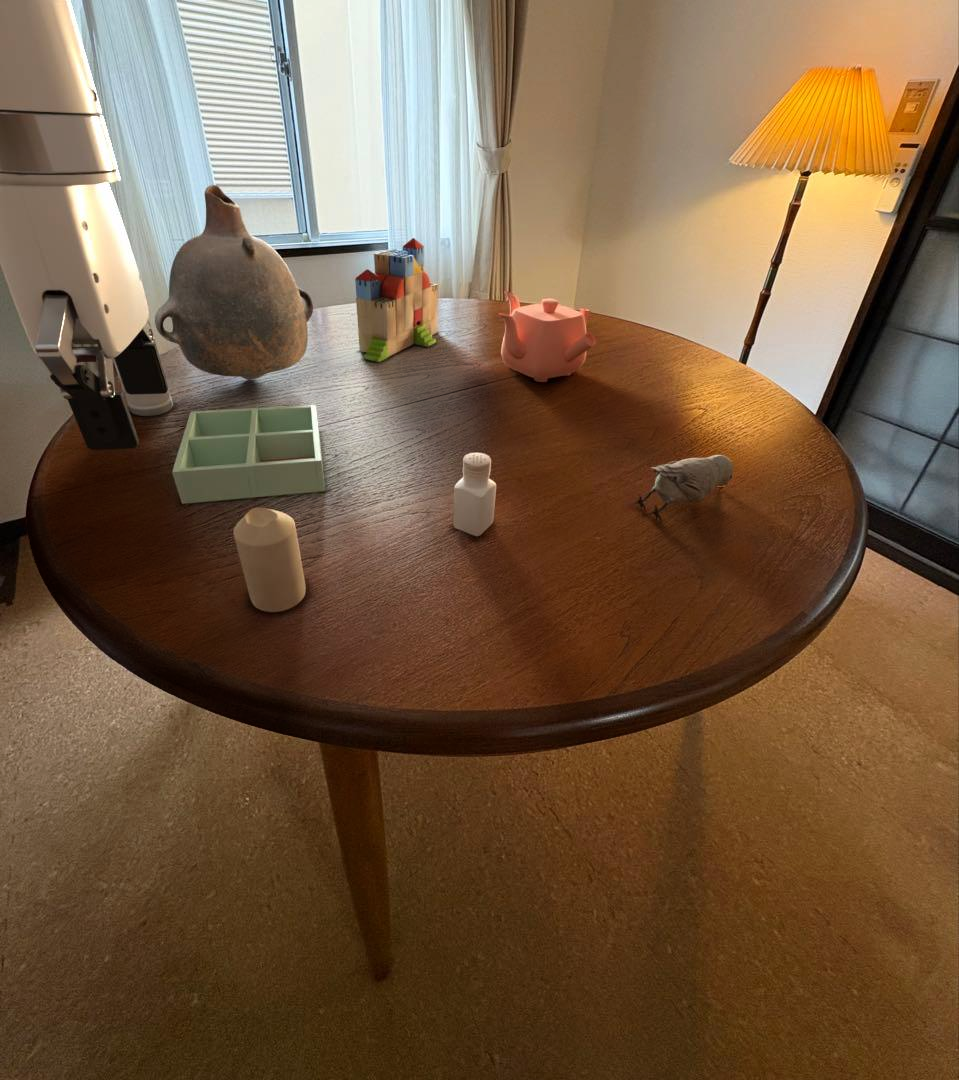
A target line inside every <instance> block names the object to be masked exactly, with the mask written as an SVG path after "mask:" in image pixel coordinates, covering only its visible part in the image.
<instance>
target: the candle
mask: <svg viewBox="0 0 959 1080" xmlns="http://www.w3.org/2000/svg"><path fill="white" fill-rule="evenodd" d="M296 527H297V526H296V522H295V520H294V518H292V516H290V515H288V514H287V513H285V512H282V511H279V510H275V509H271V508H266V507H253V508H251V509H250V510H249V511H248V512H247V513H245V515H244V516H243V517H242V518H241V519H240V520H239V521H238V522H237V523H236V524H235V526H234V528H233V537H234V541H235V545H236V549H237V553H238V557H239V560H240V561H239V562H240V565H241V569H242V572H243V577H244V579H245V584H246V589H247V592H248V596H249V599H250V602H251V603H252V605H253V606H254V607H255V608H256V609H257V610H260V611H263V612H266V613H267V612H268V613H277V612H279V613H280V612H285V611H287V610H290V609H291V608H293V607H295V606H297V605H298V604H300V602H301V601H302V600H303V599H304V598H305V595H306V589H307V586H306V580H305V574H304V568H303V563H302V558H301V557H302V556H301V551H300V545H299V539H298V533H297V528H296Z"/></svg>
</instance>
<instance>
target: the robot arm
mask: <svg viewBox="0 0 959 1080" xmlns="http://www.w3.org/2000/svg"><path fill="white" fill-rule="evenodd" d="M102 114H103V112H102V107H101V105H100V101H99V97H98V94H97V89H96V87H95V83H94V80H93V76H92V73H91V70H90V66H89V63H88V59H87V55H86V52H85V49H84V44H83V42H82V38H81V34H80V31H79V27H78V23H77V20H76V16H75V12H74V9H73V5H72V3H71V0H0V267H1V270H2V273H3V276H4V278H5V281H6V284H7V287H8V289H9V293H10V295H11V298H12V300H13V303H14V306H15V308H16V311H17V314H18V317H19V320H20V321H21V324H22V327H23V329H24V332H25V334H26V337H27V339H28V342H29V344H30V347H31V349H32V350H33V352H34V354H36V356H37V357H38V358H39V360H40V361H41V362H42V364H43V365H44V366H45V368H46V369H47V370H48V372H49V373H50V375H49V378H50V380H51V381H53V383H54V384H55V385H56V386H57V387H58V388H59V391H60V394H61V396H62V397H63V399H65V400H67V402H68V405H69V407H70V409H71V412H72V414H73V416H74V419H75V421H76V423H77V426H78V429H79V431H80V433H81V436H82V438H83V440H84V443H85V445H86V447H87V449H89V450H91V451H108V450H109V451H111V450H126V449H128V450H129V449H130V450H131V449H136V448H137V447H138V445H139V442H140V439H139V437H138V434H137V430H136V428H135V424H134V423H133V419H132V415H131V412H130V409H129V406H128V404H127V401H126V398H125V395H124V392H123V391H116V386H115V385H116V384H115V374H114V362H113V358H114V359H115V362H116V365H117V368H118V371H119V374H120V377H121V379H122V382H123V385H124V388H125V391H126V392H127V393H128V394H130V395H137V394H164V393H166V392H167V391H168V388H169V384H168V380H167V378H166V373H165V370H164V366H163V363H162V360H161V357H160V354H159V350H158V347H157V343H156V344H148V343H154V339H155V334H154V331H153V329H152V326H151V327H150V326H149V324H148V323H147V320H148V318H149V307H148V306H149V305H148V302H147V297H146V293H145V289H144V285H143V282H142V281H143V280H142V277H141V275H140V272H139V268H138V265H137V262H136V259H135V254H134V251H133V249H132V246H131V243H130V240H129V236H128V234H127V231H126V228H125V226H124V223H123V219H122V217H121V214H120V210H119V207H118V205H117V202H116V200H115V197H114V194H113V192H112V190H111V189H112V188H111V187H110V184H111V183H116V182H118V181H119V182H120V181H121V179H122V178H121V176H120V172H119V169H118V165H117V161H116V158H115V154H114V151H113V147H112V143H111V140H110V137H109V133H108V129H107V126H106V122H105V119H104V116H103V115H102ZM73 345H97V346H73ZM79 363H96V374H97V375H96V374H95V372H93V371H92V370H91V369H90V368H89V367H88V366H87V365H85V364H79Z"/></svg>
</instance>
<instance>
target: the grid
mask: <svg viewBox="0 0 959 1080" xmlns="http://www.w3.org/2000/svg"><path fill="white" fill-rule="evenodd" d="M318 418H319V417H318V411H317V405H316V404H308V405H307V404H305V405H290V406H268V407H247V408H231V409H229V408H228V409H211V410H210V409H209V410H193V411H192V410H191V411H190V413H189V416H188V419H187V422H186V424H185V425H186V426H185V428H184V431H183V435H182V437H181V438H182V439H181V442H180V445H179V448H178V451H177V455H176V459H175V462H174V465H173V468H172V471H171V473H172V476H173V481H174V482H175V486H176V490H177V492H178V495H179V499H180V503H181V504H183V505H185V504H196V503H205V502H206V503H207V502H219V501H229V500H240V499H252V498H262V497H274V496H275V497H276V496H285V495H297V494H304V493H305V494H308V493H319V492H326V485H325V475H324V464H323V454H322V447H321V446H322V445H321V436H320V428H319V419H318Z"/></svg>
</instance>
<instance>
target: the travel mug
mask: <svg viewBox="0 0 959 1080" xmlns="http://www.w3.org/2000/svg"><path fill="white" fill-rule="evenodd" d="M147 323H148V324H149V326H150V327H151V328H152V326H151V321H150V319H149V317H148V320H147ZM148 344H156V345H157V343H156V341H155V338H154V343H148ZM113 366H114V367H115V370H116V373H117V377H118V379H119V383H120V386H121V388H122V392H123V395H124V398H125V401H126V403H127V407H128V410H129V412H130V413H132V414H133V415H135V416H140V417H141V416H142V417H153V416H159V415H162V414H163V415H164V414H165V413H167V412H169V411H171V410H172V408H173V407H174V403H173V399H172V396H171V392H170V388H169V387H168V391H167V392H166V393H164V394H137V395H130V394H128V393H127V392H126V391H125V388H124V385H123V382H122V379H121V377H120V374H119V371H118V368H117V365H116V362H115V359H114V358H113Z"/></svg>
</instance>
